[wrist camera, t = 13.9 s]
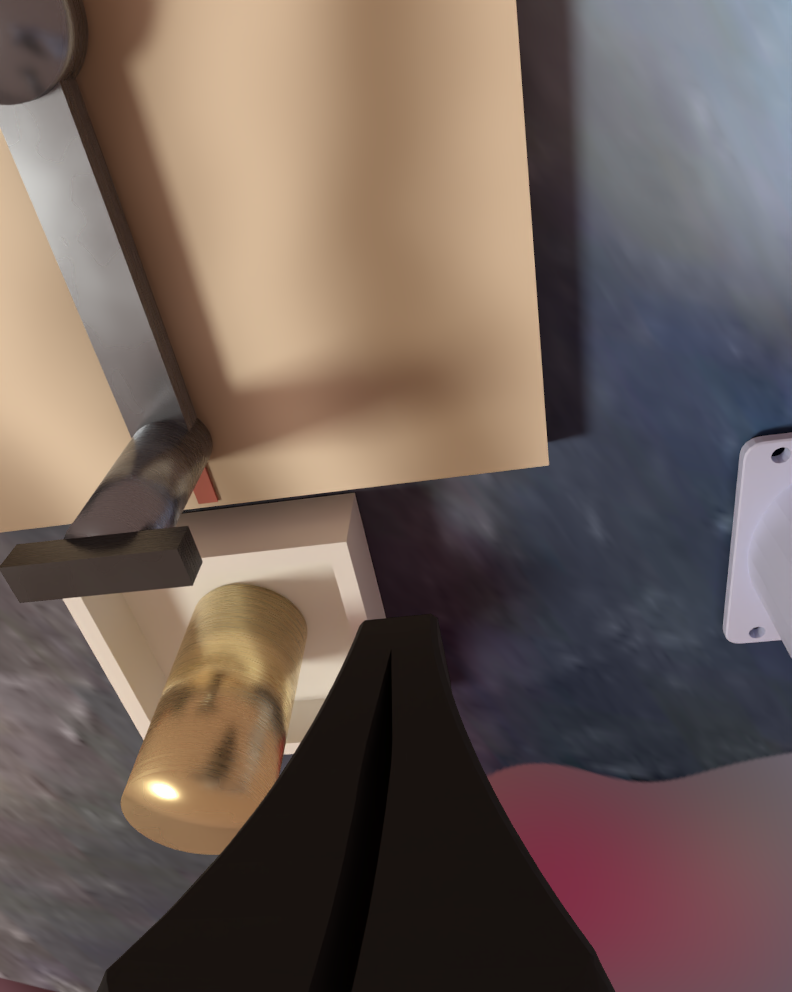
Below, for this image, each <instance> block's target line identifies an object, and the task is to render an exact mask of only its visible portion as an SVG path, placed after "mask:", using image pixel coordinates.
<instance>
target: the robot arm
mask: <svg viewBox="0 0 792 992" xmlns="http://www.w3.org/2000/svg"><path fill="white" fill-rule="evenodd" d="M782 447H784V448H785V450H784V451H783V452H782V453H781V454H780V455H777V456H772V453H773V452H774V451H775V450H776V449H778V448H782ZM755 627H758V628H757V629H753V628H755ZM751 629H753V630H751ZM723 632H724V634H725V636H726V638H727V639H728V640H729V641H730V642H733V643H751V642H762V641H774V640H782V641H783V643H784V645H785V647H786V649H787V651H788V652H789V654H790V656H791V658H792V432H791V433H783V434H775V435H767V436H759V437H756V438H752V439H751V440H749V441H748V442H746V443H745V444H744V446H743V447H742V448H741V451H740V457H739V467H738V477H737V487H736V497H735V507H734V518H733V528H732V538H731V548H730V558H729V568H728V578H727V589H726V599H725V609H724V619H723ZM97 992H615V990H614V988H613V986H612V984H611V982H610V980H609V979H608V977H607V975H606V973H605V971H604V969H603V967H602V965H601V963H600V961H599V958H598V956H597V954H596V952H595V950H594V948H593V947H592V945H591V944H590V943H589V942H588V940H587V939H586V937H585V936H584V934H583V933H582V932H581V931H580V929H579V928H578V927H577V925H576V923H575V922H574V921H573V919H572V918H571V916H570V915H569V913H568V912H567V911H566V909H565V908H564V906H563V905H562V904H561V902H560V900H559V899H558V897H557V896H556V895H555V893H554V891H553V890H552V888H551V887H550V885H549V884H548V882H547V881H546V879H545V878H544V876H543V875H542V873H541V872H540V870H539V869H538V867H537V865H536V864H535V862H534V860H533V858H532V857H531V855H530V854H529V852H528V850H527V849H526V847H525V845H524V844H523V842H522V840H521V839H520V837H519V835H518V834H517V832H516V830H515V829H514V827H513V825H512V824H511V822H510V820H509V818H508V816H507V815H506V813H505V811H504V809H503V807H502V805H501V804H500V802H499V800H498V798H497V796H496V794H495V792H494V790H493V788H492V786H491V784H490V782H489V780H488V778H487V776H486V774H485V772H484V770H483V768H482V766H481V764H480V762H479V760H478V757H477V755H476V753H475V751H474V749H473V746H472V744H471V742H470V739H469V737H468V735H467V732H466V730H465V728H464V725H463V722H462V720H461V717H460V715H459V712H458V709H457V706H456V704H455V701H454V698H453V695H452V690H451V683H450V678H449V673H448V668H447V663H446V658H445V653H444V648H443V643H442V637H441V632H440V627H439V622H438V618H436V617H435V616H433V615H432V614H425V615H414V616H404V617H394V618H383V619H373V620H364V621H363V622H362V623H361V625H360V626H359V628H358V631H357V633H356V636H355V638H354V640H353V643H352V645H351V647H350V650H349V652H348V654H347V656H346V659H345V661H344V663H343V665H342V667H341V669H340V671H339V673H338V675H337V677H336V680H335V682H334V684H333V685H332V687H331V689H330V691H329V693H328V695H327V697H326V699H325V701H324V703H323V704H322V706H321V708H320V710H319V712H318V714H317V716H316V717H315V719H314V721H313V723H312V724H311V726H310V728H309V729H308V731H307V733H306V734H305V736H304V738H303V739H302V741H301V743H300V744H299V746H298V748H297V749H296V751H295V753H294V754H293V756H292V758H291V759H290V761H289V762H288V764H287V765H286V767H285V768H284V770H283V772H282V773H281V775H280V776H279V778H278V779H277V780H276V782H275V783H274V785H273V786H272V788H271V789H270V790H269V792H268V793H267V795H266V796H265V797H264V799H263V800H262V802H261V803H260V804H259V806H258V807H257V808H256V810H255V811H254V812H253V814H252V815H251V816H250V817H249V819H248V820H247V821H246V823H245V824H244V825H243V826H242V828H241V829H240V830H239V832H238V833H237V834H236V835H235V837H234V838H233V839H232V840H231V842H230V843H229V844H228V845H227V846H226V848H225V849H224V850H223V851H222V852H221V854H220V855H219V856H218V857H217V858H216V860H215V861H214V862H213V863H212V864H211V865H210V866H209V867H208V868H207V869H206V871H205V872H204V873H203V874H202V875H201V876H200V877H199V878H198V879H197V880H196V882H195V883H194V884H193V885H192V886H191V887H190V888H189V889H188V890H187V891H186V892H185V894H184V895H183V896H182V897H181V898H180V899H179V900H178V901H177V902H176V903H175V904H174V906H173V907H172V908H171V909H170V910H169V911H168V912H167V913H166V914H165V915H164V916H163V917H162V918H161V919H160V920H159V921H158V922H157V923H155V924H154V925H153V926H152V927H151V928H150V929H149V930H148V931H147V932H146V933H145V934H144V935H143V936H142V937H141V938H140V939H139V940H138V941H137V942H136V943H135V944H134V945H133V946H131V947H130V948H129V949H128V950H127V951H126V952H125V953H124V954H123V955H122V956H121V957H120V958H119V959H118V960H117V961H116V962H115V963H114V964H112V965H111V966H110V967H109V968H108V969H107V970H106V972H105V974H104V977H103V979H102V981H101V984H100V986H99V988H98V990H97Z"/></svg>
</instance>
